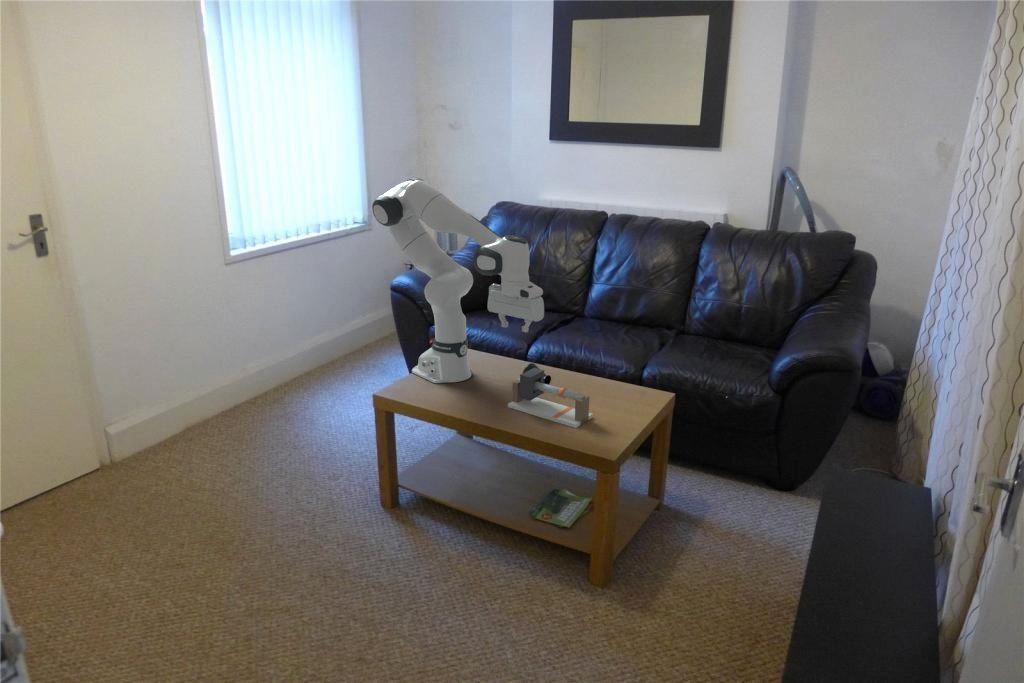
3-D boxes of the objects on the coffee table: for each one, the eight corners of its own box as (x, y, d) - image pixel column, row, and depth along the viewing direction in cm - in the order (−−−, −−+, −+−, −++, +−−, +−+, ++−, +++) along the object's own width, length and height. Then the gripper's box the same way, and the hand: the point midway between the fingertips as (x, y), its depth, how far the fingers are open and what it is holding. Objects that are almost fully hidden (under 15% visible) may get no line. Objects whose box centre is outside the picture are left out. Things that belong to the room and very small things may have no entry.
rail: (507, 407, 230) (508, 380, 227) (525, 397, 238) (525, 371, 234) (575, 428, 215) (577, 399, 212) (592, 417, 223) (593, 389, 220)
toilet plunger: (534, 377, 254) (552, 386, 250) (500, 397, 243) (519, 407, 238) (535, 359, 251) (554, 368, 246) (501, 379, 239) (520, 389, 234)
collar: (519, 397, 227) (519, 374, 225) (533, 390, 233) (534, 367, 231) (529, 400, 225) (530, 377, 222) (543, 393, 231) (544, 370, 228)
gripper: (483, 284, 225) (483, 325, 230) (535, 294, 214) (535, 337, 218) (495, 280, 230) (495, 321, 234) (547, 290, 218) (546, 332, 223)
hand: (514, 329), depth 226 cm, fingers open, 7 cm apart
